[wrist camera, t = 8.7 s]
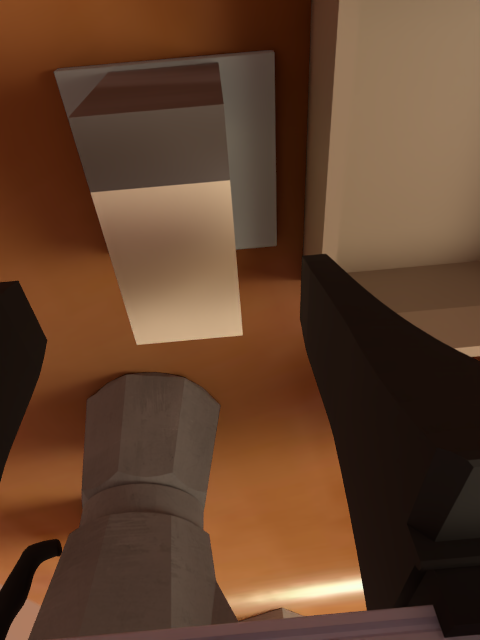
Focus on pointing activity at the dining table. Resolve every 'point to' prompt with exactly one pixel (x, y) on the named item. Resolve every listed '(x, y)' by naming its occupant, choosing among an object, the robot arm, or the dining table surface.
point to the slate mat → (241, 130)
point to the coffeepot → (133, 519)
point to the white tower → (274, 615)
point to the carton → (399, 156)
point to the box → (164, 198)
